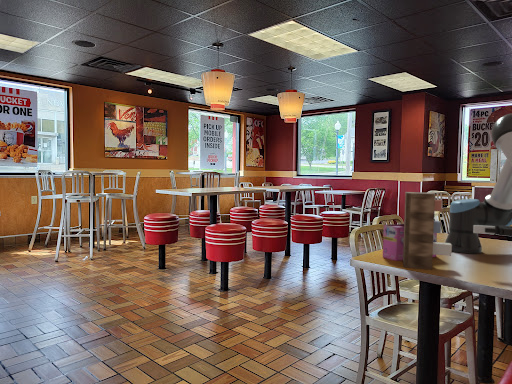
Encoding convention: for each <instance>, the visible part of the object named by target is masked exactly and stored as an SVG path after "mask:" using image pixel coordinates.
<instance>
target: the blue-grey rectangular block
mask: <svg viewBox="0 0 512 384" xmlns="http://www.w3.org/2000/svg"><path fill="white" fill-rule="evenodd" d="M441 231H442V222H441V221H440V220H434V233H437V234H441Z"/></svg>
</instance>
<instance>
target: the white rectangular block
mask: <svg viewBox="0 0 512 384" xmlns="http://www.w3.org/2000/svg"><path fill="white" fill-rule="evenodd" d="M452 252H453V251H452V245H451V244H450V243H445V242H441V241H440V242H438V241H437V242H433V255H436V256H448V257H451V256H452Z"/></svg>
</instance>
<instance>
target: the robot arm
mask: <svg viewBox="0 0 512 384" xmlns="http://www.w3.org/2000/svg"><path fill="white" fill-rule="evenodd" d="M490 133H491V140H492V142H493V144H494V146H495V148H496V149H497V150H498V151H502V153H503V155H504V156H505V161H504V164H503V166H502V169H501V171H500V173H499V175H498V177H497V180H496V183H495V185H494V187H493V189H492V191H491V194H487V195H486V196H485V198H484V200H483V202H482V201H480V200H479V199H478V198H477V199H476V198H467V199H466V198H465V199H457V200H453V201H452V202H451V203H450V206H449V222H448V223H449V227H448V229H449V230H448V234H447V237H446V239H445V242H444V243H450V244H451V245H452V251H451V252H454V253H460V254H461V253H462V254H481V253H482V249H483V246H482V244H481V241H480V238H479V234H480V235H481V234H484V235H493V236H501V237H502V236H504V237H512V113H507V114H505V115H503V116H502V117H500V118H498V119H497V120H495V122H494V124H493V126H492V128H491V132H490Z"/></svg>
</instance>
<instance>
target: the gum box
mask: <svg viewBox="0 0 512 384" xmlns="http://www.w3.org/2000/svg"><path fill="white" fill-rule="evenodd" d="M382 233H383V234H382V235H383V241H382V242H383V243H382V258H384V259H388V260H392V261H395V262H397V261H403V243H404V223H394V224H383V232H382ZM437 235H438V233H433V242H438V240H437V239H438V237H437ZM435 257H437V255H433V257H432V258H435Z"/></svg>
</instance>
